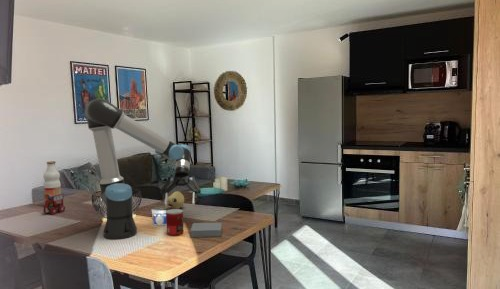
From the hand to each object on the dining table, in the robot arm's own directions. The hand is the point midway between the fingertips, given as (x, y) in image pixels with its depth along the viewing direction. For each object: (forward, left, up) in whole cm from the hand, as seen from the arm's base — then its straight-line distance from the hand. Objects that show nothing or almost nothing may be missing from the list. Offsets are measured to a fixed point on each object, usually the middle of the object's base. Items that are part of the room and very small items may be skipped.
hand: (179, 205), depth 181 cm
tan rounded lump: (-8, +38, -12) cm, 41 cm away
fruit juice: (-87, +54, -12) cm, 104 cm away
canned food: (-1, -8, -12) cm, 14 cm away
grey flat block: (+14, -8, -12) cm, 20 cm away
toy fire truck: (-78, +36, -12) cm, 87 cm away
